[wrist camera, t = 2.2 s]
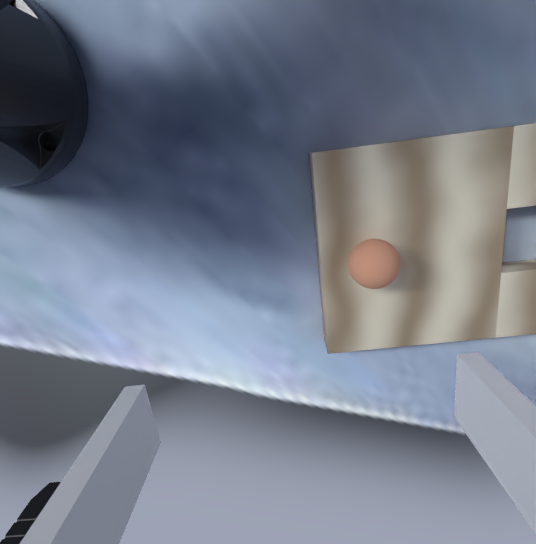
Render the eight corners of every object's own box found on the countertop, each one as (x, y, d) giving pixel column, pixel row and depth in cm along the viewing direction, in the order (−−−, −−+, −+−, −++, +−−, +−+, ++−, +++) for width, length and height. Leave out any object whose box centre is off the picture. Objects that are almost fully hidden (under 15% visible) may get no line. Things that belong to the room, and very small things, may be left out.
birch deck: (324, 340, 35) (327, 353, 32) (308, 153, 29) (311, 152, 27) (573, 316, 33) (596, 328, 31) (605, 114, 28) (636, 109, 25)
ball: (345, 281, 30) (355, 299, 26) (342, 236, 29) (352, 248, 25) (391, 276, 30) (408, 293, 26) (391, 231, 28) (408, 242, 25)
